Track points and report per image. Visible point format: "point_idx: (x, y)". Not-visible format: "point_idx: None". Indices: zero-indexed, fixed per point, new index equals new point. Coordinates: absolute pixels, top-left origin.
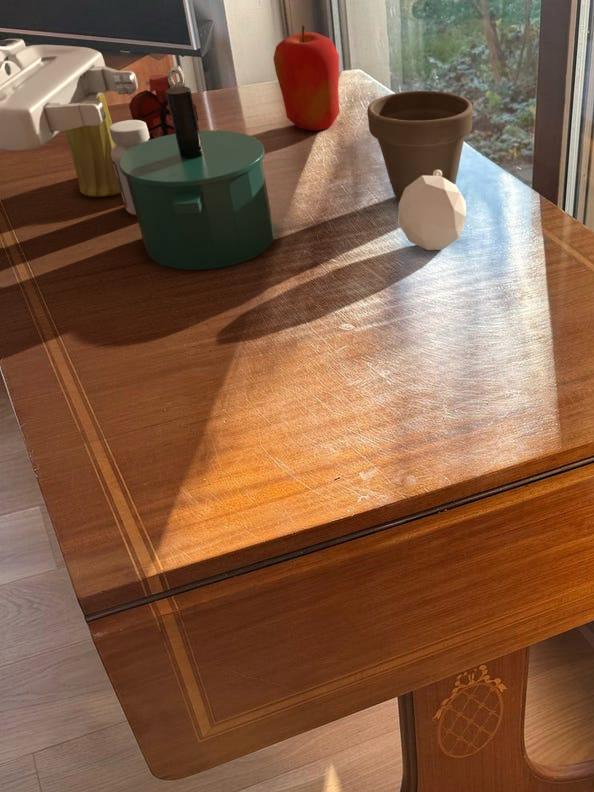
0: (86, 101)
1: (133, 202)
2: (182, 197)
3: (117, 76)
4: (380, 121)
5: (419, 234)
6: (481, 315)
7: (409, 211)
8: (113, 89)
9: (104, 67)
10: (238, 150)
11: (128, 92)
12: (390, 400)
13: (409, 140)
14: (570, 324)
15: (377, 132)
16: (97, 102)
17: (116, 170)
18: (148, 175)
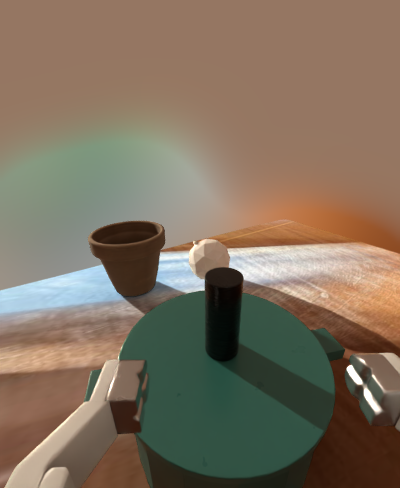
0: (387, 381)
1: (288, 484)
2: (321, 345)
3: (139, 388)
4: (152, 241)
5: (228, 266)
6: (281, 259)
7: (225, 258)
8: (94, 464)
9: (39, 459)
10: (202, 307)
11: (147, 396)
12: (377, 274)
13: (164, 242)
14: (275, 242)
15: (149, 251)
16: (367, 355)
17: None
18: (317, 380)
